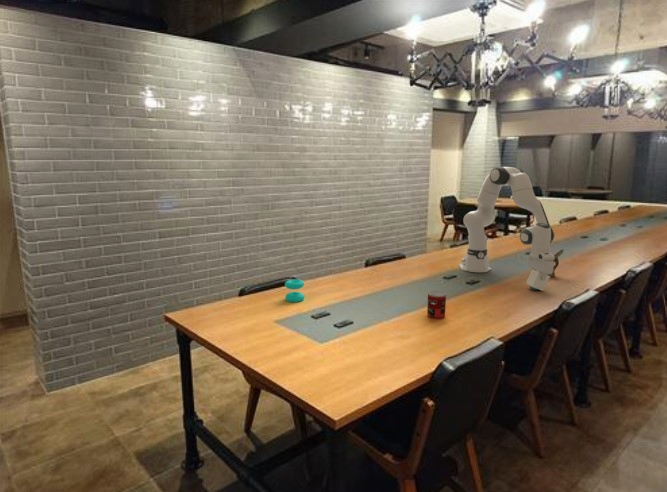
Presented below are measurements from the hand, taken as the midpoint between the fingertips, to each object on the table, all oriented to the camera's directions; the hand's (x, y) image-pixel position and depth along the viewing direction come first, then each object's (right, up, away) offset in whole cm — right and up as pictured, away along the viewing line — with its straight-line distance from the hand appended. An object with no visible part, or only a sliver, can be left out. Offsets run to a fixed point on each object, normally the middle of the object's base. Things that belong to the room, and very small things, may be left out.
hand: (538, 278), depth 241 cm
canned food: (-65, -15, -39) cm, 77 cm away
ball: (-2, -4, 0) cm, 4 cm away
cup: (-2, -5, +1) cm, 5 cm away
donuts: (-132, -11, -12) cm, 133 cm away
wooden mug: (+20, -1, +28) cm, 35 cm away
